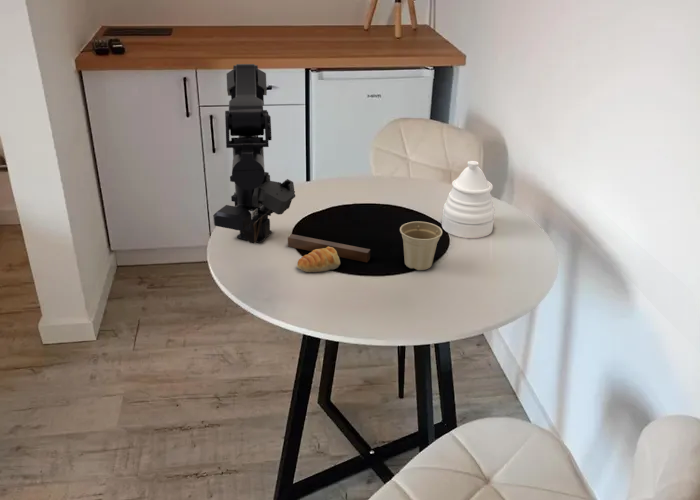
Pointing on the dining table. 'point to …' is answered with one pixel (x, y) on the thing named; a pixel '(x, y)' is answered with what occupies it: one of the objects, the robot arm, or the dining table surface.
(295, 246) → the strip
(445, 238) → the dining table surface
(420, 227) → the flower pot
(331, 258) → the pastry
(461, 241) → the dining table surface
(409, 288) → the dining table surface
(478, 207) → the honey pot
